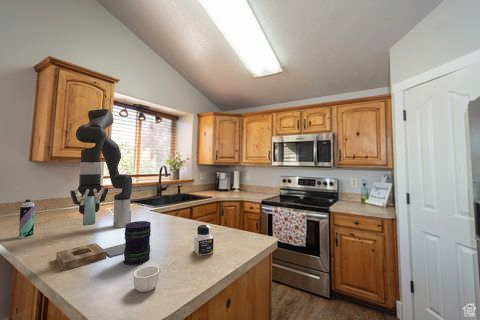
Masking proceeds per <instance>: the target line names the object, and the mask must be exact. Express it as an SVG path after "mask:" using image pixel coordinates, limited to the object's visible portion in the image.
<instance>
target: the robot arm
mask: <svg viewBox="0 0 480 320" xmlns="http://www.w3.org/2000/svg"><path fill="white" fill-rule="evenodd" d="M87 115H88V116H87V117H88V120H89V122H88V123H85V124H82V125H80V126H78V128H77V129H76V132H75V138H76V139H77V140H78V142H80V143H82V144H83V143H84V144H95V145H94V146H92V147H87V148H83V149H81V150H80V165H79V174H78V175H79V178H78V180H79V182H78V183H79V184H78V187H77V188H76V189H70V190H69V194H70V197H71V200H72V203H73V204H74V205H78V212H79V214H80V215H83V214H84V202H85V200H86V198H87V197H88V196H95V198H96V212H95V213H98V212H99V211H100V204H101V203H102V202H105V200H106V198H107V195H108V191H109V188H107V187H102V185H101V183H102V181H101V180H102V165H101V164H102V163H101V161H102V159H101V157H103V158H104V159H103V160H104V161H105V164H106V167H107V170H108V174H109V175H108V176H109V178H110V183H111V185H112V187H113V188H115V189H122V190H121V192H120V193H117V194H115V195H114V196H113V225H112V226H113V228H115V229H117V228H118V229H120V228H125V225H126V224H128V223H131V222H132V210H131V196H132V189H133V177H132V175H130V174H126V173H125V174H124V173H123V174H121V173H120V172H119V164H120V162H121V159H122V154H121V153H122V151H121V150H120V146H119V145H118V143H116V142H115V140H113V139H112V138H111V137H109V136H108V135H107V132H106V129H108V128H109V127H110V126H112V125H113V124H114V116H113V113H112V111H111V110H110V109H108V108H101V109H99V108H98V109H92V110H89V111H88V112H87ZM100 191H101V195H100V196H99V193H100ZM78 193H80V195H81V196H80V198H79V200H78V198H77V195H78Z"/></svg>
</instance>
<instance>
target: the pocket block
mask: <svg viewBox="0 0 480 320" xmlns="http://www.w3.org/2000/svg"><path fill="white" fill-rule="evenodd" d="M104 249H105V248H103V247H101V246H100V245H99V244H98V243H97V242H94V243H91V244H90V243H89V244H86V245H82V246H77V247H73V248H68V249H64V250H59V251H56V253H55V261H57V263H58V265H59V267H60V268H61V269H62V271H65V272H66V271H68V270H71V269H74V268H78V267H81V266H84V265H89V264H91V263H95V262H98V261H102V260H106V259H107V254H106V251H105V250H104Z"/></svg>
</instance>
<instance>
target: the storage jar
mask: <svg viewBox="0 0 480 320" xmlns="http://www.w3.org/2000/svg"><path fill="white" fill-rule="evenodd" d="M151 224H152V223H151V221H146V220H137V221H133V222H132V221H131V223H128V224H126V225H125V227H124V228H125V229H124V240H125V242H124V243H125V249H124V254H123V258H124V261H123V263H124V265H126V266H139V265H143V264H145V263H147V262H148V261H149V260H150V259H151V256H150V255H151V244H150V242H151V241H150V240H151V239H150V238H151V235H152V234H151V231H152V230H151V229H152V227H151Z"/></svg>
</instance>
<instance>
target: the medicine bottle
mask: <svg viewBox="0 0 480 320" xmlns="http://www.w3.org/2000/svg"><path fill="white" fill-rule="evenodd" d="M211 228H212V227H211V225H209V224H200V225H198V226H197V231H196V232H197V234H195V235H193V236H194V238H193V239H194V240H193V241H194V244H193V245H194V246H193V247H194V248H193V250H194V252H195V253H196V255H197V256H199V257H200V256H205V255H210V254H214V237H213V236H212V235H211V233H212V232H211Z"/></svg>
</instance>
